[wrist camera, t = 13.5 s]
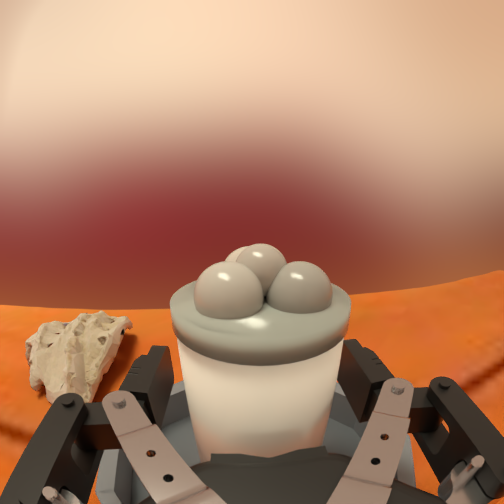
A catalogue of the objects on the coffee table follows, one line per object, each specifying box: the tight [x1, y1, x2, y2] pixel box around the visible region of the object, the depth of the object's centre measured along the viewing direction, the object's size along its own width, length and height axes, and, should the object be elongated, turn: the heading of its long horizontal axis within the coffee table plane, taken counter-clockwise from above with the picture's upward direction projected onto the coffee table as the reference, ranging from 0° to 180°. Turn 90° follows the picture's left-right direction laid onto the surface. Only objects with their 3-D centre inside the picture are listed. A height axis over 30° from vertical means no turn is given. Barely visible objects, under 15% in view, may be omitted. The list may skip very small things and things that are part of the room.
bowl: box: [95, 380, 416, 504], centre depth 12 cm, size 17×17×4 cm
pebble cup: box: [170, 244, 351, 463], centre depth 11 cm, size 6×6×14 cm
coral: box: [25, 310, 133, 404], centre depth 24 cm, size 15×12×5 cm
